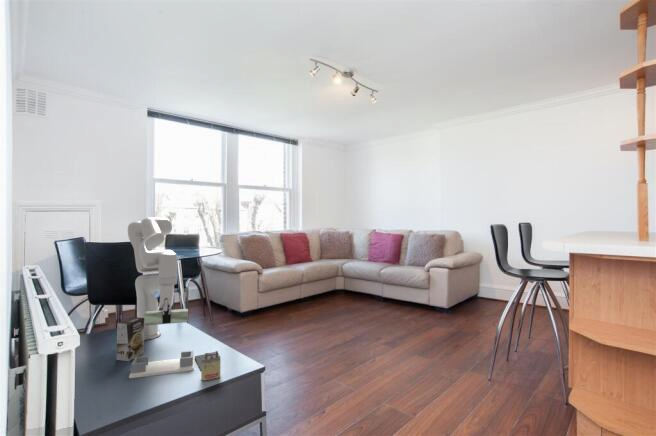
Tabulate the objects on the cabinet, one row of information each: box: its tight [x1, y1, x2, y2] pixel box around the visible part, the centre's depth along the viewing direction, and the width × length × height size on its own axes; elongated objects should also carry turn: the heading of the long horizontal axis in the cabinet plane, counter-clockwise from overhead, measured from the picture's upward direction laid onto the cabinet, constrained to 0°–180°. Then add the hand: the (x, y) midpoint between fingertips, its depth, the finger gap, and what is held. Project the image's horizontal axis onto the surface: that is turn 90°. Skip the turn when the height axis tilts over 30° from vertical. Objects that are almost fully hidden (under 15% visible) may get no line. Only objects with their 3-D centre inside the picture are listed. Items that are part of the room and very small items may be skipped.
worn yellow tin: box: [200, 350, 222, 381], centre depth 132 cm, size 7×4×10 cm, turn 119°
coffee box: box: [116, 316, 145, 362], centre depth 150 cm, size 9×6×16 cm
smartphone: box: [194, 353, 205, 372], centre depth 145 cm, size 7×1×15 cm
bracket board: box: [128, 350, 195, 379], centre depth 139 cm, size 11×23×4 cm, turn 110°
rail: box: [145, 308, 189, 326], centre depth 151 cm, size 4×17×5 cm, turn 110°
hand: (167, 321), depth 151 cm, fingers closed on rail, 3 cm apart
